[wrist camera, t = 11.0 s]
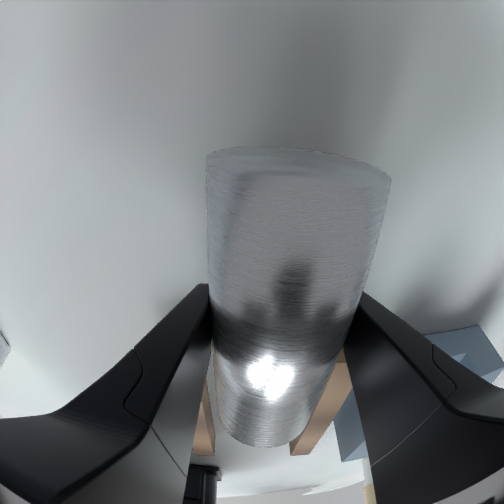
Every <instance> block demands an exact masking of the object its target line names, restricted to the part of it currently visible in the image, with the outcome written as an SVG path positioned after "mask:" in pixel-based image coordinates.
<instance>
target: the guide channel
mask: <svg viewBox="0 0 504 504" xmlns="http://www.w3.org/2000/svg"><path fill="white" fill-rule="evenodd" d="M351 389H352V383H351V379H350V375H349V371H348V367H347V364H346V360H345V356H344V351H343V346H342V349H341V351H340V354H339V356H338V359H337V361H336V363H335V366H334V368H333V370H332V373H331V375H330V377H329V379H328V382H327V384H326V386H325V388H324V390H323V393H322V395H321V397H320V399H319V401H318V403H317V405H316V407H315V409H314V411H313V413H312V415H311V417H310V419H309V421H308V423H307V425H306V427H305V428H304V430H303V431H302V432H301V433H300V434H299V435H298V436H297V437H296V438H295V439H293V440H292V441H290V442H289V445H290V456H296V455H307V454H309V453H310V452H311V451H312V449H313V448H314V447H315V445H316V444H317V442H318V441H319V440H320V438H321V437H322V435H323V434H324V432H325V431H326V429H327V428H328V426H329V425H330V423H331V422H332V420H333V419H334V417H335V415H336V414H337V412H338V411H339V409H340V407H341V406H342V404H343V403H344V401H345V399H346V398H347V396H348V394H349V392H350V391H351ZM214 448H215V431H214V426H213V420H212V414H211V408H210V402H209V395H208V389H207V382H206V379H205V384H204V389H203V394H202V399H201V404H200V409H199V415H198V420H197V425H196V430H195V436H194V441H193V446H192V449H193V451H194V453H195V455H205V456H214Z"/></svg>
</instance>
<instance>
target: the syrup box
mask: <svg viewBox="0 0 504 504" xmlns="http://www.w3.org/2000/svg"><path fill="white" fill-rule="evenodd" d="M9 353H10V347H9V345H8V344H7V342H6V341H5V339H4V338H3V336H2V334H1V333H0V369H1V367H2V365H3V363H4V361H5V360H6V358H7V356H8V354H9Z"/></svg>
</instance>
